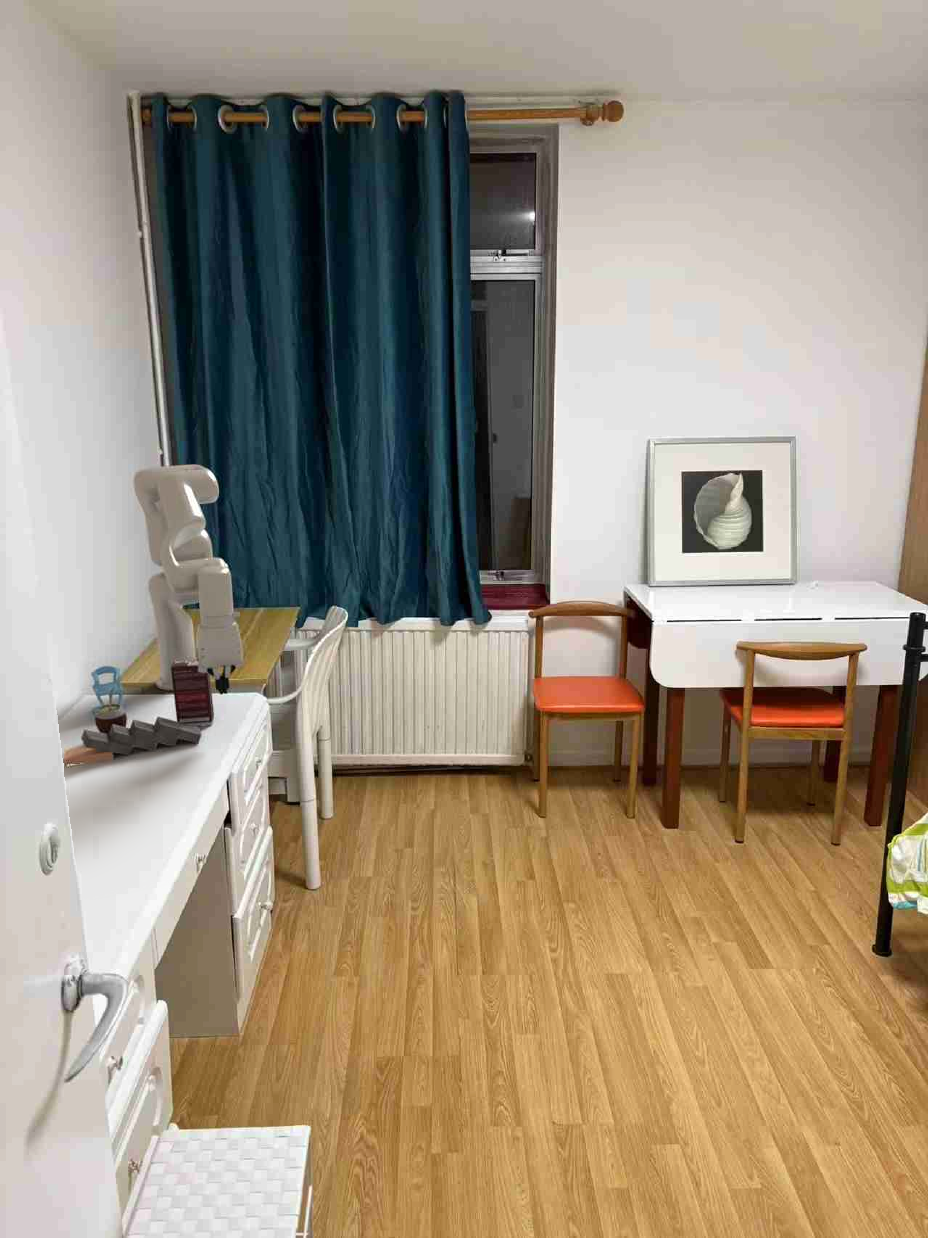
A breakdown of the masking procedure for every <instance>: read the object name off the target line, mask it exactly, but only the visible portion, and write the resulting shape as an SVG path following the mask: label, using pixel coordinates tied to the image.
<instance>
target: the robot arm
mask: <svg viewBox="0 0 928 1238" xmlns="http://www.w3.org/2000/svg"><path fill="white" fill-rule="evenodd" d="M133 489H134V493H135V495H136V498H137V501H138V503H139V505H140V507H141V509H142V511H143V514H144V516H145V522H146V530H147V531H146V534H147V541H148V548H149V554H150V555H149V556H150V559H151V561H152V563H153V564H154V565H155V566H156V567H157V566H158V567H161V568H162V570H163V571H161V572H159V573H155V574H153V575H152V576H151V577H150V578H149V580H148V582H147V583H148V584H147V586H148V587H147V589H148V592H149V593H148V594H149V598H150V601H151V605H152V608H153V609H152V610H153V613H154V622H155V628H156V629H155V630H156V638H157V639H156V640H157V645H158V657H159V665H160V676H159V677H158V678H157V679H156V681H155V683H156V684H155V685H156V687H157V688H158V689H161V690H164V691H173V682H172V673H171V666H172V664H173V662H174V661H183V660H198V667H197V669H198V672H202V673H209V674H210V676H211V677H213V678H214V683H215V684H214V685H215V691H218V692H219V695H223V694H224V695H227V694H228V690H229V689H230V680H229V679H230V677H231V675H232V674H233V673H234V671H235V670H236V669H240V668H243V667H244V666H245V661H244V660H243V659H244V655H243V645H242V640H241V639H242V638H241V635H240V630H239V624H238V623H237V621H236V619H239V618H241V613H240V611H235V610H234V599H233V585H232V583H233V582H232V573H231V571H230V569H229V566H228V563H226V562H225V560H224V559H222V558H221V557H214V554H213V552H214V551H213V545H212V540H211V538H210V536H209V534H208V532H207V531H206V530H205V528H206V525H207V522H206V518H205V516H204V513H203V510H202V508H201V505H204V504H212V503H215V502H217V500H218V498H219V494H220V489H219V484H218V480H217V478H216V477H215V474H214V473H213V472H212V471H211V470H210V469H209V468H207V467H204V466H203V465H200V464H180V465H167V466H166V465H164V466H154V467H148V468H143V469H140V470H138V471H136V472H135V474H134V476H133ZM198 603H199V605H198V606H199V614H200V615H199V617H200V623H199V624H197V628H196V637H195V635H194V625H193V620H192V617H191V616H190V615H189V614H188V613H187V612H186V611H185V610H184V609H183V608H182V607H183V606H187V605H194V604H198ZM195 638H196V639H195ZM195 640H196V643H195ZM195 644H196V645H195ZM221 667H223V669H222V672H221V673H220V671H219V668H221Z"/></svg>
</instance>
